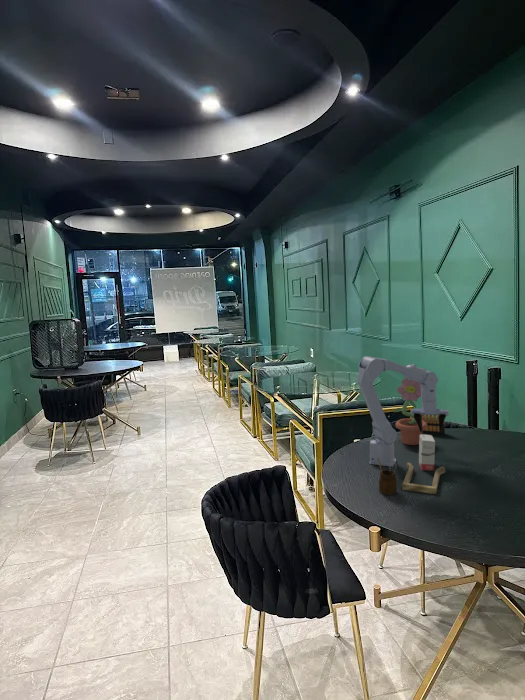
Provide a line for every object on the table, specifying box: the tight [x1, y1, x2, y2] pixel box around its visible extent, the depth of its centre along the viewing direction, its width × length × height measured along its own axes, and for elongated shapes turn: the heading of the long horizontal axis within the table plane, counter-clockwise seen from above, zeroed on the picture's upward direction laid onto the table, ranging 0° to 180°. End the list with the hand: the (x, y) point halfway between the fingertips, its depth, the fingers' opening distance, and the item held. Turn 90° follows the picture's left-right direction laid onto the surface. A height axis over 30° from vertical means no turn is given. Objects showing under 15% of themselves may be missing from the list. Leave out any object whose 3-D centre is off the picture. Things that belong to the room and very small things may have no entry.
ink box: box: [418, 433, 436, 472], centre depth 177 cm, size 9×5×12 cm, turn 168°
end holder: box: [402, 462, 446, 495], centre depth 166 cm, size 14×21×2 cm, turn 154°
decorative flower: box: [393, 377, 427, 446], centre depth 205 cm, size 15×14×30 cm
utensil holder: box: [378, 457, 398, 496], centre depth 157 cm, size 6×6×12 cm
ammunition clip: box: [422, 414, 446, 435], centre depth 218 cm, size 11×2×12 cm, turn 68°
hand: (430, 431), depth 187 cm, fingers open, 7 cm apart
